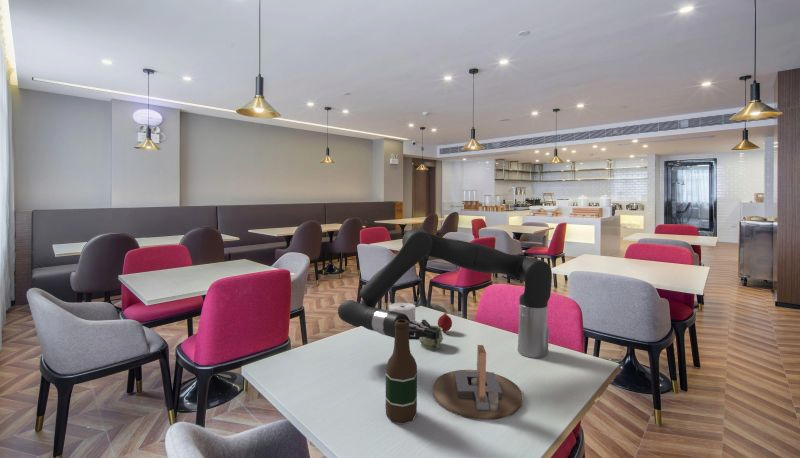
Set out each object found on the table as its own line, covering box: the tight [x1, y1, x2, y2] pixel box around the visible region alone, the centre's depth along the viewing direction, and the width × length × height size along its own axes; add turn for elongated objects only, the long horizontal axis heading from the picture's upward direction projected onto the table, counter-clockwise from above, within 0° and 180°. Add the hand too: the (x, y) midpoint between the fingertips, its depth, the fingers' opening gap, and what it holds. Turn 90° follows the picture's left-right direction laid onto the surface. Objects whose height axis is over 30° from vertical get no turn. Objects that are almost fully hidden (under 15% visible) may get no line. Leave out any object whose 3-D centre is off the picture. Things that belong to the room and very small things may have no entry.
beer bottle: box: [385, 319, 418, 425], centre depth 94 cm, size 8×8×24 cm
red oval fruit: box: [437, 312, 453, 333], centre depth 153 cm, size 6×6×8 cm
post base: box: [432, 369, 523, 421], centre depth 105 cm, size 24×24×6 cm
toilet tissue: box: [388, 301, 416, 321], centre depth 156 cm, size 11×12×10 cm
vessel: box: [418, 324, 444, 351], centre depth 140 cm, size 12×9×6 cm
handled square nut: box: [453, 344, 502, 411], centre depth 102 cm, size 17×11×14 cm
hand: (437, 335), depth 105 cm, fingers closed
